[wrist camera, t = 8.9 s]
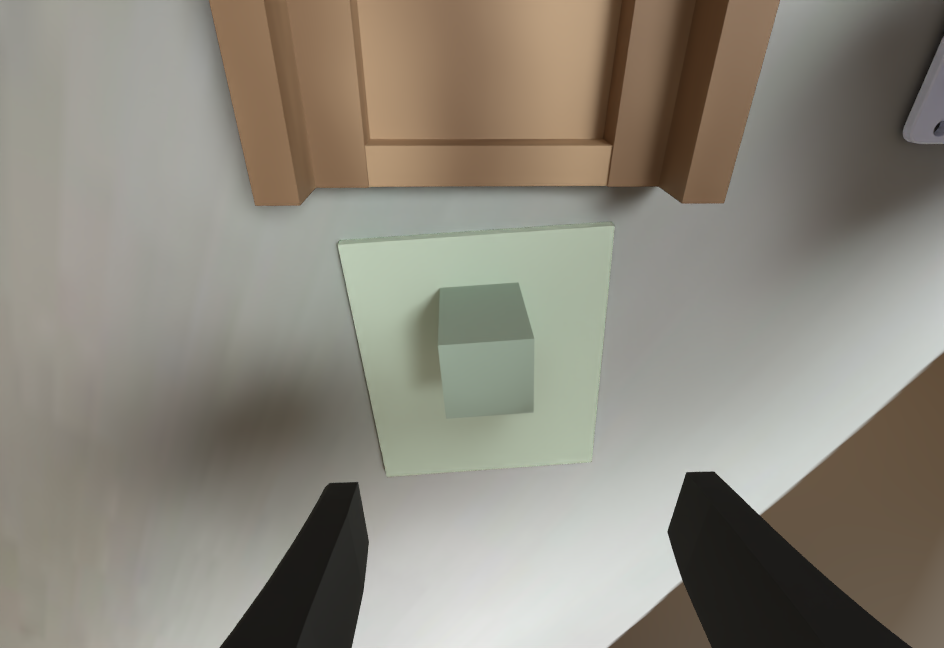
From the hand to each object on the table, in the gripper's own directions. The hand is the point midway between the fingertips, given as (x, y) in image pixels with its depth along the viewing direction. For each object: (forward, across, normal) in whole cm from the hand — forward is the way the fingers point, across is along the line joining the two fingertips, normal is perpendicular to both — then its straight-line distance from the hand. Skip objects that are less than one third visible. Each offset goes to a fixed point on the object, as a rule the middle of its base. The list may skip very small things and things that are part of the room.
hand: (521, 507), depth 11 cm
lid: (+10, 0, +3) cm, 11 cm away
